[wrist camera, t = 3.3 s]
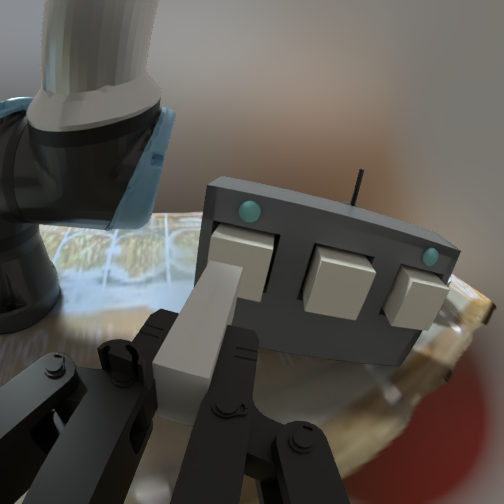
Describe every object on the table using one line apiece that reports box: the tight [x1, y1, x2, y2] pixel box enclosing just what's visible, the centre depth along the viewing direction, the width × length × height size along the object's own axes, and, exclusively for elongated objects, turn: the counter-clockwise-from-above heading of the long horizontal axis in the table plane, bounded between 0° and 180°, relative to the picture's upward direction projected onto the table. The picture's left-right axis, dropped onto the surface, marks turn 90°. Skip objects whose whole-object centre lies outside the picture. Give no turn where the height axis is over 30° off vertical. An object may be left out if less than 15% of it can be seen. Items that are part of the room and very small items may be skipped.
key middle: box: [302, 243, 376, 320], centre depth 24 cm, size 4×5×5 cm
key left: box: [207, 222, 274, 302], centre depth 24 cm, size 4×5×5 cm
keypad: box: [194, 176, 461, 366], centre depth 28 cm, size 6×26×16 cm, turn 84°
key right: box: [382, 264, 450, 331], centre depth 24 cm, size 4×5×5 cm
